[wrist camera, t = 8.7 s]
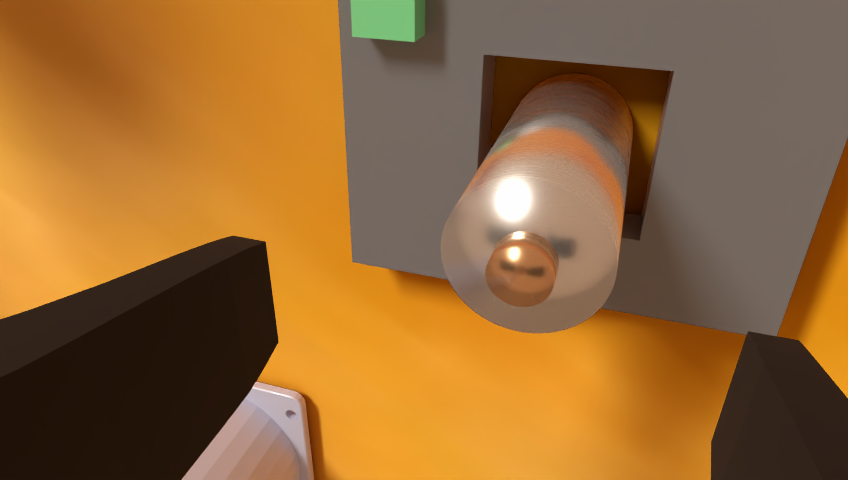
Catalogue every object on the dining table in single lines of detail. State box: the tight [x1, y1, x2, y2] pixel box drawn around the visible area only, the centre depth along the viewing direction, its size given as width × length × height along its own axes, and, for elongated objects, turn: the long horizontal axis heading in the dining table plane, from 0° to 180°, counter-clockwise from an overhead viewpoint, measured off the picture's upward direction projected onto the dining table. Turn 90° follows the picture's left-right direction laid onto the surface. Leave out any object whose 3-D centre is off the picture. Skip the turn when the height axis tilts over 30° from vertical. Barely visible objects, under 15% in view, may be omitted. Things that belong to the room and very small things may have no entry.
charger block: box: [338, 0, 848, 336], centre depth 16 cm, size 9×12×2 cm
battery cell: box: [441, 73, 633, 333], centre depth 14 cm, size 3×3×8 cm
